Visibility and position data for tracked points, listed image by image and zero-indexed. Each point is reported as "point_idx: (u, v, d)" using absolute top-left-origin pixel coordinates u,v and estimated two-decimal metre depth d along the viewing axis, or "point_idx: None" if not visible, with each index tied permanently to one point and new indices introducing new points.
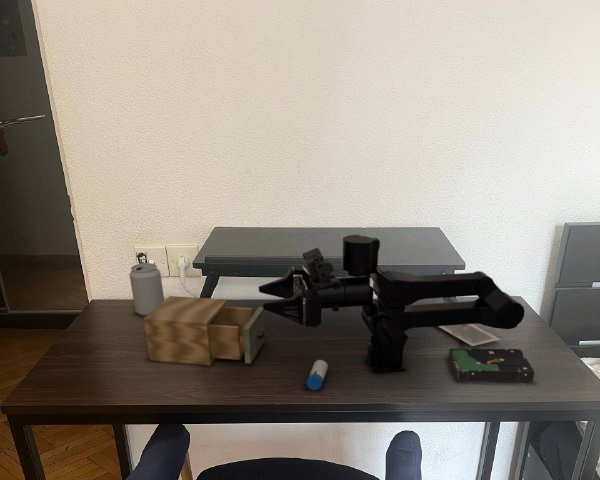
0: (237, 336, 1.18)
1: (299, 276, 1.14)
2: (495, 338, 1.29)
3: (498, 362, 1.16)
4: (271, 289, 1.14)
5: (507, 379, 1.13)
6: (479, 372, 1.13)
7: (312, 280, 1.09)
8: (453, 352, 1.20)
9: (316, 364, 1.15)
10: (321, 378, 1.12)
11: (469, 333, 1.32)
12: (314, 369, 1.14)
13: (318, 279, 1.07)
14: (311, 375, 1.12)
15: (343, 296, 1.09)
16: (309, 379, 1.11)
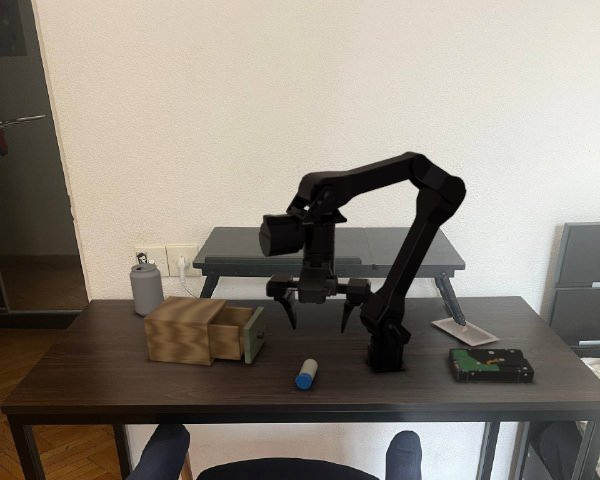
0: (237, 336, 1.18)
1: (287, 291, 1.06)
2: (495, 338, 1.29)
3: (498, 362, 1.16)
4: (295, 316, 1.10)
5: (507, 379, 1.13)
6: (479, 372, 1.13)
7: None
8: (453, 352, 1.20)
9: None
10: (302, 373, 1.12)
11: (469, 333, 1.32)
12: None
13: None
14: None
15: (334, 252, 1.02)
16: (298, 385, 1.12)
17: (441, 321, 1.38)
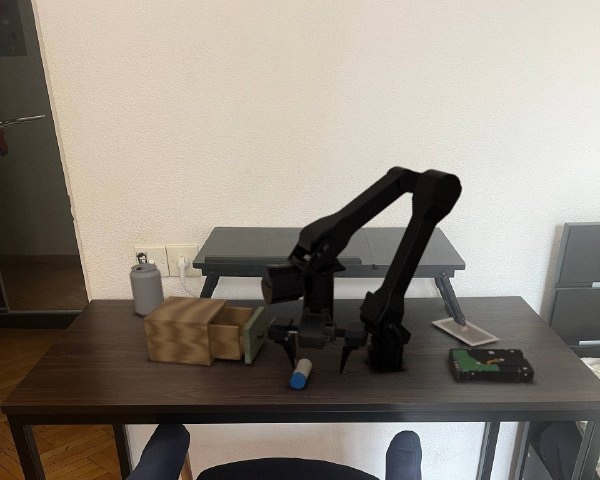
0: (237, 336, 1.18)
1: (287, 334, 1.10)
2: (495, 338, 1.29)
3: (498, 362, 1.16)
4: (295, 357, 1.14)
5: (507, 379, 1.13)
6: (479, 372, 1.13)
7: None
8: (453, 352, 1.20)
9: None
10: (292, 376, 1.13)
11: (469, 333, 1.32)
12: None
13: None
14: None
15: (333, 298, 1.06)
16: (297, 387, 1.13)
17: (441, 321, 1.38)
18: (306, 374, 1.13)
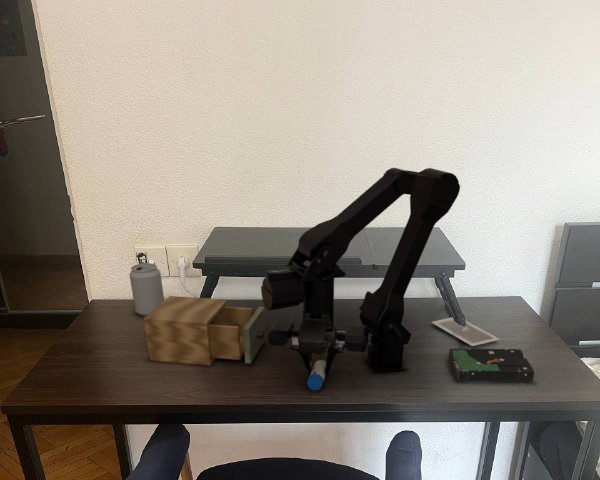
0: (237, 336, 1.18)
1: None
2: (495, 338, 1.29)
3: (498, 362, 1.16)
4: (311, 363, 1.14)
5: (507, 379, 1.13)
6: (479, 372, 1.13)
7: None
8: (453, 352, 1.20)
9: (316, 365, 1.15)
10: (321, 377, 1.12)
11: (469, 333, 1.32)
12: (314, 369, 1.14)
13: None
14: (311, 375, 1.11)
15: (333, 303, 1.07)
16: (309, 380, 1.11)
17: (441, 321, 1.38)
18: None
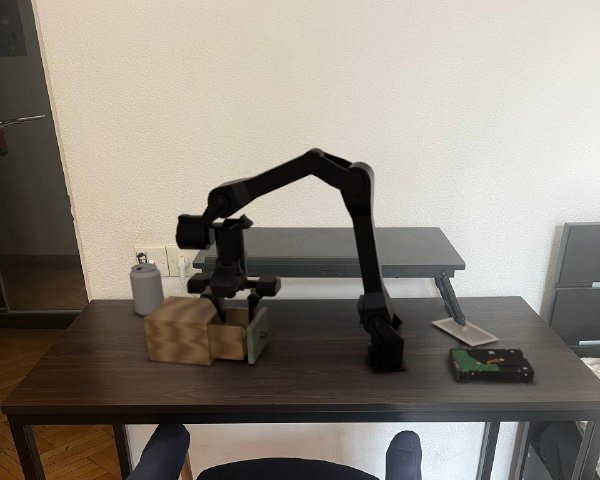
0: (240, 336, 1.18)
1: None
2: (495, 338, 1.29)
3: (498, 362, 1.16)
4: (224, 311, 1.22)
5: (507, 379, 1.13)
6: (479, 372, 1.13)
7: None
8: (453, 352, 1.20)
9: None
10: None
11: (469, 333, 1.32)
12: None
13: None
14: None
15: (244, 252, 1.15)
16: None
17: (441, 321, 1.38)
18: None
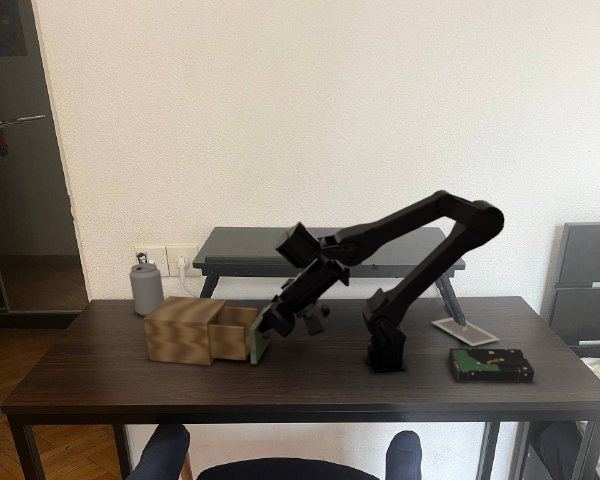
0: (243, 336, 1.18)
1: None
2: (495, 338, 1.29)
3: (498, 362, 1.16)
4: None
5: (507, 379, 1.13)
6: (479, 372, 1.13)
7: None
8: (453, 352, 1.20)
9: None
10: None
11: (469, 333, 1.32)
12: None
13: None
14: None
15: None
16: None
17: (441, 321, 1.38)
18: None
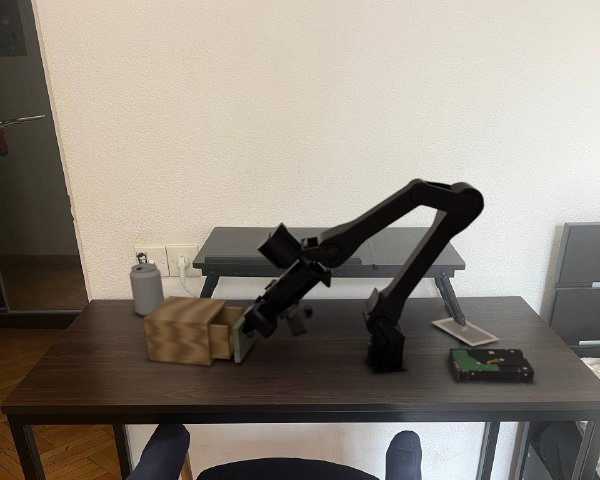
0: (226, 335, 1.19)
1: None
2: (495, 338, 1.29)
3: (498, 362, 1.16)
4: None
5: (507, 379, 1.13)
6: (479, 372, 1.13)
7: None
8: (453, 352, 1.20)
9: None
10: None
11: (469, 333, 1.32)
12: None
13: None
14: None
15: None
16: None
17: (441, 321, 1.38)
18: None
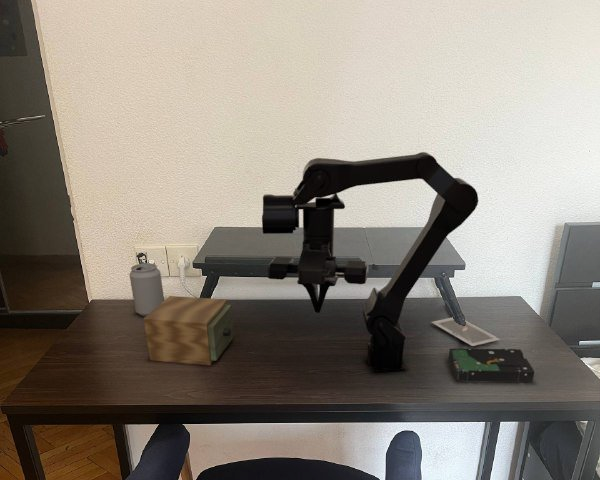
0: None
1: None
2: (495, 338, 1.29)
3: (498, 362, 1.16)
4: (317, 299, 1.14)
5: (507, 379, 1.13)
6: (479, 372, 1.13)
7: None
8: (453, 352, 1.20)
9: None
10: None
11: (469, 333, 1.32)
12: None
13: None
14: None
15: (333, 235, 1.06)
16: None
17: (441, 321, 1.38)
18: None
